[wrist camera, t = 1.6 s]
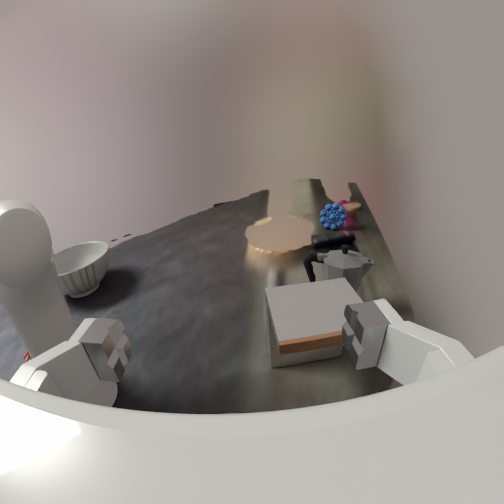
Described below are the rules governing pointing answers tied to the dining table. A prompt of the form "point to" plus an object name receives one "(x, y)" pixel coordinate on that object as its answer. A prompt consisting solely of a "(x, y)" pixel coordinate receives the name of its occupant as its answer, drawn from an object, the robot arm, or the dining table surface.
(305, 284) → the wood-edged grey shelf
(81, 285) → the decorative bowl
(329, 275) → the coffeepot
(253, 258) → the dining table surface
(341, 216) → the blue bumpy cluster
